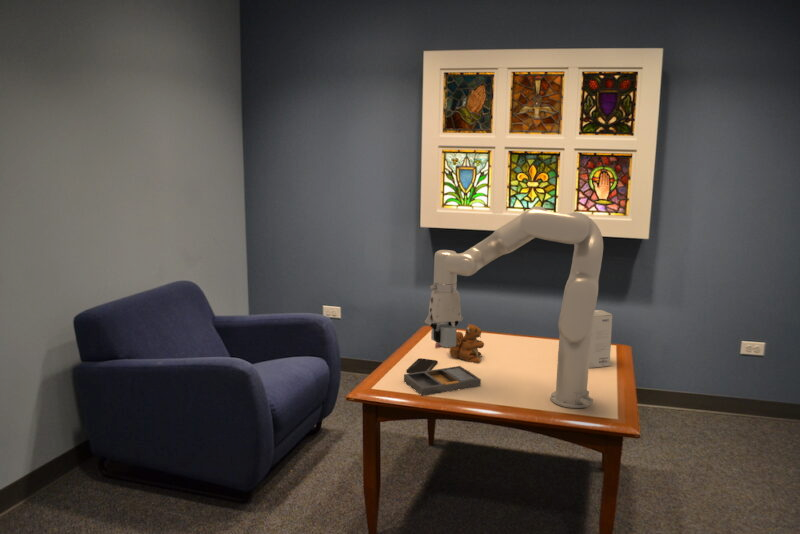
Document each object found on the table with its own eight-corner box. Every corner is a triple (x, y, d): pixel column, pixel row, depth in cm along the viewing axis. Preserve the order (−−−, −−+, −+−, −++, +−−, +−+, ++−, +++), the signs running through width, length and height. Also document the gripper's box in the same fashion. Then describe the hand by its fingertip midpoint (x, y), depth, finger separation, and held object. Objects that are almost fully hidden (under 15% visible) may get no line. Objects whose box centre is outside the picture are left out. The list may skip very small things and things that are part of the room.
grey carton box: (598, 360, 237) (602, 309, 233) (610, 366, 230) (614, 314, 226) (562, 363, 233) (565, 311, 229) (572, 370, 226) (576, 317, 222)
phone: (438, 360, 232) (426, 373, 218) (438, 363, 232) (426, 376, 218) (418, 357, 234) (405, 370, 221) (418, 360, 235) (405, 373, 221)
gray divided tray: (480, 386, 209) (480, 378, 208) (422, 395, 200) (422, 387, 199) (459, 372, 221) (459, 365, 221) (403, 381, 212) (404, 373, 212)
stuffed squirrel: (481, 364, 231) (482, 330, 229) (444, 360, 235) (445, 326, 232) (485, 355, 240) (486, 323, 238) (449, 352, 244) (450, 319, 242)
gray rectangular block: (456, 346, 204) (456, 328, 203) (445, 347, 203) (445, 329, 202) (441, 337, 213) (442, 321, 212) (431, 339, 212) (431, 322, 210)
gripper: (427, 292, 198) (426, 346, 201) (472, 288, 205) (470, 341, 208) (417, 287, 204) (416, 340, 208) (461, 283, 211) (459, 335, 215)
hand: (443, 340), depth 208 cm, fingers closed on gray rectangular block, 4 cm apart
